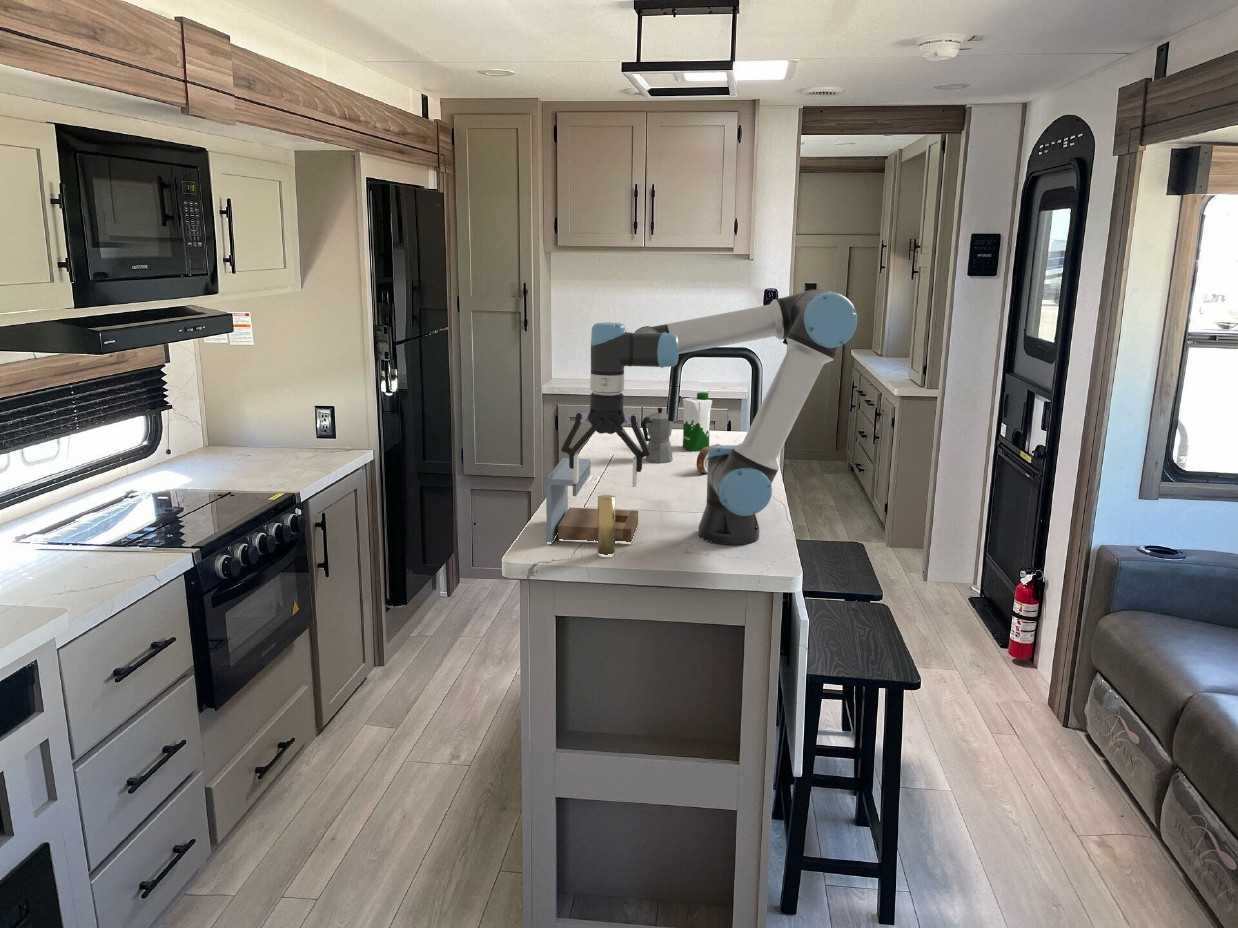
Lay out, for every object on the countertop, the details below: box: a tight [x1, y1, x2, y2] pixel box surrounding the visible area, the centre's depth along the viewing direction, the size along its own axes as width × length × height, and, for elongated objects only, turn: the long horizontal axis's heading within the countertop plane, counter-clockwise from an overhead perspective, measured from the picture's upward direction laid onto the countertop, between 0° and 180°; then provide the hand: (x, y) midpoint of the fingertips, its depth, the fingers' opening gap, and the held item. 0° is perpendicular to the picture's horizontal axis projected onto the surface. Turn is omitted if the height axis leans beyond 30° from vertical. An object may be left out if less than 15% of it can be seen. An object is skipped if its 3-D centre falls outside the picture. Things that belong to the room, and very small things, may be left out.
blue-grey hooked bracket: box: [545, 457, 591, 543], centre depth 229 cm, size 7×22×16 cm, turn 173°
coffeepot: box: [641, 407, 674, 464], centre depth 306 cm, size 15×9×18 cm, turn 137°
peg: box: [597, 494, 616, 555], centre depth 212 cm, size 4×4×14 cm
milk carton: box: [682, 392, 713, 453], centre depth 324 cm, size 9×9×20 cm
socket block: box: [557, 507, 639, 542], centre depth 230 cm, size 18×16×4 cm
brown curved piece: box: [696, 443, 721, 475], centre depth 293 cm, size 15×3×8 cm, turn 141°
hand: (605, 483), depth 210 cm, fingers open, 13 cm apart
